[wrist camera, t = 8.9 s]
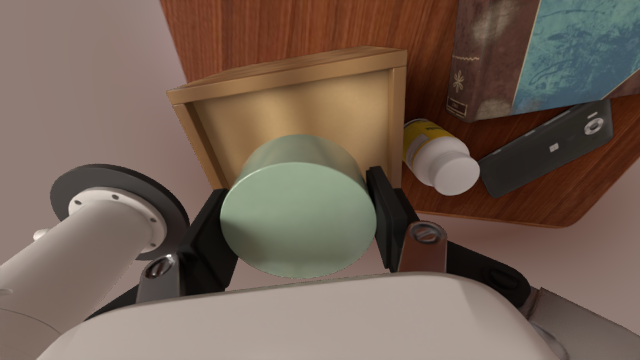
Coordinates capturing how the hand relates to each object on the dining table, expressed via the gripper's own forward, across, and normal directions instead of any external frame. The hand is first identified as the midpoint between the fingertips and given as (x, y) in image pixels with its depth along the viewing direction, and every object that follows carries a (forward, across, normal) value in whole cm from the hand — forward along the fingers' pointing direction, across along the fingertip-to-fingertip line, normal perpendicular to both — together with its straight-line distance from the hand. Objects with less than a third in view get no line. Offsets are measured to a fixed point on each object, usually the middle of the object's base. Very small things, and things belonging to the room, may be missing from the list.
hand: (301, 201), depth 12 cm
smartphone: (+17, -29, +10) cm, 35 cm away
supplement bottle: (+17, -13, +5) cm, 22 cm away
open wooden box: (+17, 0, 0) cm, 17 cm away
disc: (+1, 0, 0) cm, 1 cm away
